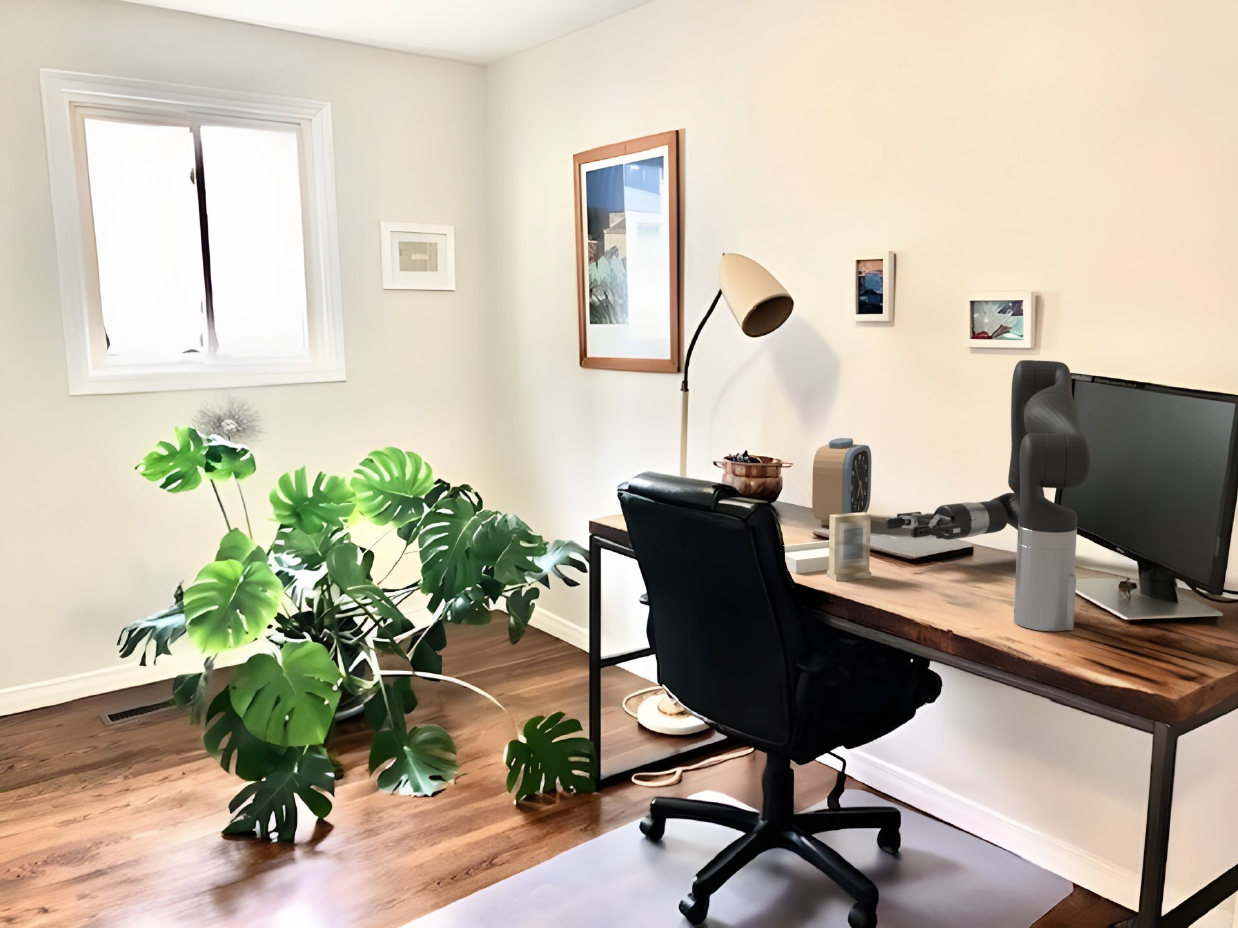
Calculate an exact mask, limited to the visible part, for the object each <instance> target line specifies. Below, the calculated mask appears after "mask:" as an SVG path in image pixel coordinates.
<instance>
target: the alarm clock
mask: <svg viewBox="0 0 1238 928" xmlns="http://www.w3.org/2000/svg"><path fill="white" fill-rule="evenodd" d="M811 488H812V491H811V492H812V496H811V499H812V500H811V502H812V503H811V504H812V515H813V517H814V519H815V520H819V521H820V520H821V521H820V522H821V524H820V525H821V526H828V527H830V515H834V514H848V513H861V512H866V513H868V511H869V508H870V504H871V494H872V492H871V491H872V451H871V448H870V447H869V445H868V444H855V443H854V440H853V438H851V437H850V438H849V437H848V438H847V437H839V438H833V439H831V440H829V441H828V443H826V444H825V445H821V446H820V447H819V448H818V449H817V450H816V452H815V454H814V457H813V464H812V487H811Z"/></svg>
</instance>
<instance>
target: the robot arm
mask: <svg viewBox="0 0 1238 928" xmlns="http://www.w3.org/2000/svg"><path fill="white" fill-rule="evenodd" d="M1012 373H1013V374H1012V378H1011V379H1012V381H1011V397H1010V400H1011V401H1010V433H1011V434H1010V437H1011V439H1010V440H1011V450H1010V451H1011V452H1010V461H1009V468H1008V476H1007V477H1008V478H1007V479H1008V480H1007V484H1008V486H1009V488H1010V490H1011V491H1012V492H1007V493H1004V494H1001V495H999V496H997V497H994V498H992V499H990V500H987V501H985V500H984V501H980V502H979V501H978V502H970V501H969V502H968V501H967V502H961V503H951V504H943V505H939V506H938V507H937V508H936V509H935V511H934V513H932V512H931V513H929V512H926V513H924V514H923V513H922V512H921V511H915V512H911V511H910V512H902V513H899V512H898V513H897V514H896V517H891V518H890V517H889V518H886V519H885V529H888V530H892V529H893V530H894V529H895V530H896V529H904V528H905V529H910V537H911V538H915V539H916V538H917V539H918V538H923V537H928V538H935V539H939V540H941V539H942V540H946V541H949V540H950V541H951V540H958V539H965V538H972V537H976V536H979V535H985V534H993V533H997V532H1001V531H1003V530H1004V529H1005V528H1006V526H1007V525H1009V526H1011V527H1012V528H1014V529H1015V530H1017V541H1016V543H1017V544H1016V563H1015V584H1014V604H1013V606H1014V607H1013V622H1014V623H1015V624H1016V625H1018V626H1021V627H1023V628H1027V629H1030V630H1035V631H1042V632H1062V631H1074V625H1075V624H1074V623H1075V606H1076V604H1075V603H1076V588H1077V586H1076V585H1077V576H1076V573H1075V568H1076V553H1077V552H1076V551H1077V534H1078V515H1077V513H1076V511H1074V510H1073V509H1071V508H1068V507H1066V506H1063V505H1061V504H1058V503H1055V502H1053V501H1051V500H1049V499H1048V498H1047V497H1045V491H1044V488H1046V489H1065V490H1067V489H1076V488H1080V487H1081V486H1084V485H1085V484H1086V482H1087V481H1088V479H1089V477H1090V473H1091V469H1092V455H1091V451H1090V445H1089V443H1088V441H1087V439H1086V437H1085V435H1084V433H1083V431H1082V429H1081V425H1080V420H1079V419H1080V418H1079V414H1078V410H1077V406H1076V404H1075V401H1074V398H1073V390H1072V389H1073V388H1072V375H1071V370H1070V368H1069V366H1068V365H1067V364H1066V363H1064V362H1061V361H1054V360H1035V359H1026V360H1025V359H1021V360H1019V361H1017V363H1016V364H1015V366H1014V369H1013V372H1012ZM915 525H917V526H915Z"/></svg>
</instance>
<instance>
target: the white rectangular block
mask: <svg viewBox="0 0 1238 928" xmlns="http://www.w3.org/2000/svg"><path fill="white" fill-rule="evenodd" d="M785 559H786V563H787V567H788V570H787V571H789V572H791V573H793V574H795V575H796V574H798V575H799V574H805V573H814V572H822V571H823V572H824V571H829V539H828V540H821V541H813V542H812V541H810V542H802V543H794V544H786V545H785Z"/></svg>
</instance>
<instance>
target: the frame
mask: <svg viewBox="0 0 1238 928" xmlns="http://www.w3.org/2000/svg"><path fill="white" fill-rule="evenodd" d="M871 515H872V514H871V513H868V512H861V513H848V514H834V515H830V526H828V527H829V529H828V530H829V534H828V537H829V538H828V540H829V570H826V577H827V578H829V579H831V580H833V581H835V582H842V581H843V582H844V581H853V580H863V579H865V580H866V579H872V572H871V571H870V563H871V562H870V560H871V559H870V558H871V557H870V556H871V555H870V554H871V553H870V552H871V518H872V517H871Z"/></svg>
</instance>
